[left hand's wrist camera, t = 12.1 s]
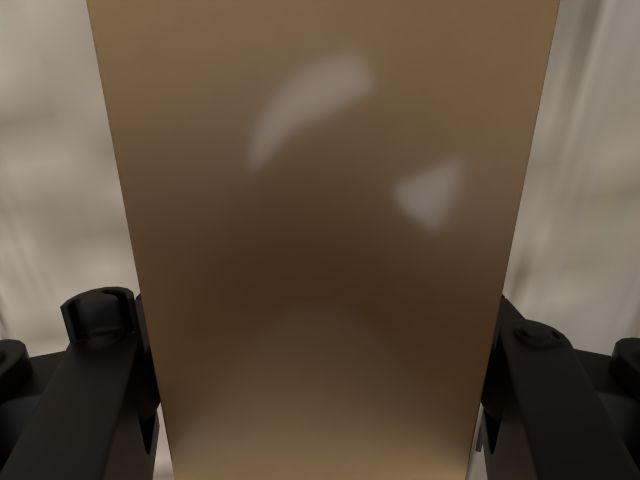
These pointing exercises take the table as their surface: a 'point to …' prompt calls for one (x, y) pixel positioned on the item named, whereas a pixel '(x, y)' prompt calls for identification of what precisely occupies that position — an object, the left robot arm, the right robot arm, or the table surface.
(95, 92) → the table surface
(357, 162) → the beam
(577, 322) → the table surface
